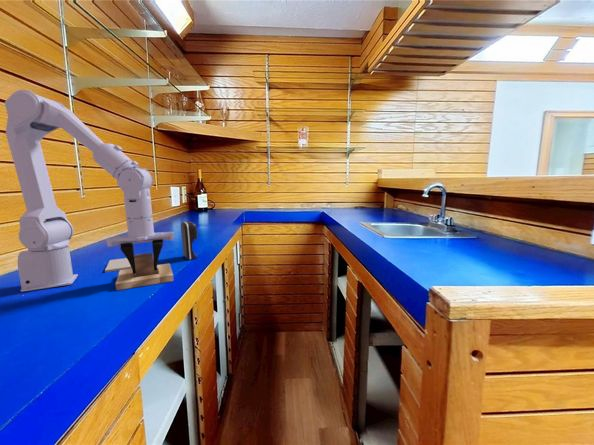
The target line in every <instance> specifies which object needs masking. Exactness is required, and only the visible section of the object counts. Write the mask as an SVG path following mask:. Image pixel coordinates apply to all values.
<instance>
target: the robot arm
mask: <svg viewBox="0 0 594 445" xmlns="http://www.w3.org/2000/svg"><path fill="white" fill-rule="evenodd" d="M4 107H5V109H6V114H7V119H6V120H7V121H6V126H5V134H6V140H7V142H8V147H9V150H10V153H11V157H12V161H13V164H14V168H15V171H16V175H17V179H18V183H19V186H20V190H21V194H22V197H23V201H24V204H25V208H26V211H25V212H24V213H23V214H22V215H21V216H20V218H19V219H18V223H19V231H18V239H19V242H20V243H21V244H22V246H23V247H25V248H26V249H27V250H22V251H20V252H19V253H18V255H17V269H18V276H19V281H20V287H21V289H20V292H22V293H23V292H28V291H35V290H42V289H49V288H55V287H57V288H58V287H62V286H69V285H72V284H73V283H74V282H75V280H76V279H77V278H78V277H79V274H78V273H75V274H74V272H73V266H72V260H71V254H70V253H71V252H70V251H71V250H70V246H69V245H70V244H71V243H70V240H71V239H72V238H73V236H74V232H75V230H74V226H73V225H72V223H71V222H70V221H69V219H68V218H67V214H66V212H65V211H63V210H62V209H61V208H59V207H58V206H57V203H56V199H55V196H54V191H53V187H52V183H51V180H50V175H49V171H48V168H47V163H46V161H45V156H44V153H43V152H44V151H43V148H42V146H41V145H42V144H41V141H42V140H43V139H44V138H45V137H46V136H47V135H49V134H51V133H53V132H54V131H56V130H58V129H62V130H64V132H66V133H67V134H69V135H70V136H71V137H73V138H74V139H75V140H76V141H78V142H79V143H80V144H81V145H83V147H86V148H87V149H88V150H89V151H90V152H91V153H92V159H93V161H94V162H95V163H96V164H97V165H98V166H100V167H101V168H102V169H104V171H106V172H107V173H108V175H110V176H112V177H113V178H114V179H116V183H117V186H118V187H119V189H120V190H121V191H122V192H123V199H124V200H123V201H124V210H125V218H126V219H125V221H126V228H127V234H126V235H119V236H112V237H107V238H106V245H107V247H108V248H109V247H110V248H111V247H115V246H120V250H121V253H122V254H123V255H124V256H125V258H127V259H128V261H129V263H130V265H131V268H132V271H133V274H135V273H136V269H135V260H134V257H135V252H134V250H135V249H134V244H144V243H151V244H152V245H151V246H152V254H153V262H154V271H156V270H157V265H158V262H159V257H160V254H161V251H162V249H163V247H164V241H174V240H175V234H174V232H173V231H161V232H160V231H159V232H155V228H154V218H153V208H152V207H153V206H152V196H151V189H150V188H151V187H152V185H153V183H154V182H153V176H152V174H151V173H150V171H149V170H148V169H147V168H144V167H139V162H137V161H136V160H132V159H131V158H130V157H129V156H127V155H126V154H125V153H124V152H123V150H124V149H123V148H122V147H121V146H120V145H118V144H113V143H109V142H108V143H106V142H104V141H102V139H100V138H99V136H97V134H95V133H94V132H93V131H92V130H91V129H90V127H88V126H87V125H85V123H84V122H83V121H82V120H81V119H80V118H78V117H77V116H76V115H75V113H74V112H73V111H72V110H70V109H69V108H67V107H66V106H65V105H63V103H61V102H59V101H56V100H53V99H49V98H48V97H47V98H46V97H44V96H41V95H39V94H36V93H34V92H32V91H30V90H26V89H20V90H16V91H14V92H13V93H12V94H11V95H10V96H9V97H8V98H7V99H6V100H5V101H4Z"/></svg>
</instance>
